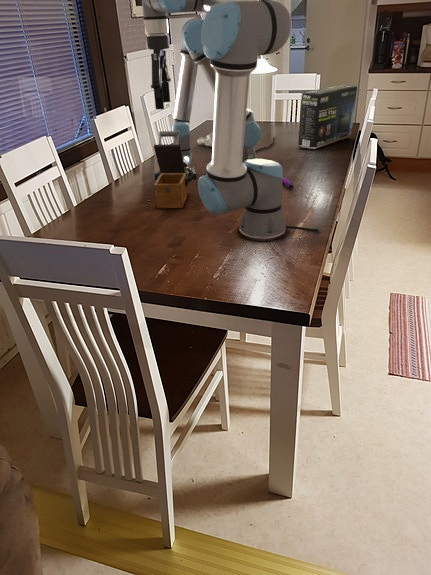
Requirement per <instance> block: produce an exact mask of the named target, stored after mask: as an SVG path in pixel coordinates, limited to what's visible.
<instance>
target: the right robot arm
mask: <svg viewBox="0 0 431 575" xmlns="http://www.w3.org/2000/svg"><path fill="white" fill-rule="evenodd" d="M141 6H142V8H141V9H142V16H143V23H142V27H143V28H144V34H145V35H147V36H145V46H146V50H149V51H150V50H153V53H151V54H150V57H151V58H150V59H151V85H150V89H153V96H154V105H155V106H154V108H155V110H165V104H164V103H171V94H170V82H171V81H172V79H171V77H170V73H169V66H168V60H167V53H166V52H167V51H166V50H169V49H170V46H171V44H170V36H169V35H168V34H169V32H170V31H169V30H170V29H169V19H168V14H177V13H198V12H202V13H206V14H205V16H204V18H203V20H204V21H203V26H202V33H201V41H202V45H203V51H204V53H205V55H206V56H207V57H208V58H209V59H210V65H211V66H212V67H213V68H214V70H215V71H216V82H215V94H214V103H213V104H214V106H213V108H214V109H213V128H212V130H213V146H212V152H211V160H210V161H209V163H207V165H206V169H205V171H206V172H205V175H204V174H203V175H201V176H200V177H199V178H198V181H197V191H198V195H199V198H200V200H201V203H202V204H203V206H204V207H205V209H206V210H207V211H208V212H209V213H210V214H213V215H219V214H227V213H228V212H232V211H233V212H234V211H236V210H241V209H244V211H243V213H242V216H241V220H240V222H239V226H238V232H239V235H240V236H241V237H242V238H244V239H247V240H250V241H254V242H271V241H277V240H279V239H281V238H283V237H285V235H286V234H287V229H290V230H299V231H305V232H316V233H318V232H319V228H311V227H310V228H309V227H304V226H296V225H288V224H287V223H286V221H285V216H284V214H283V210H282V200H283V177H284V174H283V173H284V172H283V171H284V169H283V166H282V164H280V162H277V161H275V160H270V159H265V158H257V159H248V160H246V161H245V163H244V164H243V163H242V158H243V147H244V136H245V124H246V113H247V109H248V100H249V90H250V79H251V78H250V77H251V73H253V72H254V71H255V70H256V68H257V67H258V58H259V56H265V55H266V56H268V55H272V54H274V53H276V52H278V51H279V50H281V49H282V48H283V47H284V46H285V45H286V43H287V42H288V40H289V38H290V36H291V32H292V26H293V25H292V24H293V22H292V17H291V14H290V12H289V10H288V8H287V7H286V6H285V5H284V4H283V3H281V2H280V1H279V2H278V1H276V0H141Z"/></svg>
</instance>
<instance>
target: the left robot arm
mask: <svg viewBox="0 0 431 575" xmlns="http://www.w3.org/2000/svg"><path fill="white" fill-rule="evenodd" d="M203 21H204V18H203V19H202V18H191V19H189V20H187V21H186V22H185V23H184V24H183V26H182V28H181V32H180V37H181V38H180V39H181V41H180V52H179V54H180V55H181V62H180V70H179V76H178V84H177V90H176V98H175V104H174V111H173V118H172V123H171V129H170V131H180V136H179V143H178V144H180V146H181V151H182V156H183V161H184V167H185V175H186V177H185V186H186V187H188V185H189V183H191V182H192V181H197V177H198V176H197V172H196V169H195V168H196V167H194V166H191V164H192V163H193V154H192V147H191V129H190V123H191V122H190V121H191V115H192V109H193V104H194V97H195V91H196V85H197V79H198V73H199V67H200V69H201V70H202V72H203V75H204V76H205V78H206V80H207V82H208V85H209V86H210V88H211V90H212V92H213V93H214V95H215V82H216V71H215V70H214V68H213V67H212V66H211V65H210V59H209V58H208V57H207V56H206V55H205V53H204V51H203V45H202V41H201V33H202V26H203ZM260 127H261V126H260V125H259V124H258V123H257V122H256V119H255V118H254V112H253V110H251V109H250V108H247V113H246V124H245V136H244V147H243V158H242V163H243V164H244V163H245V161H246V160H248V159H258V158H257V157H258V156H257V152H260V151H261V150H263V149H267V148H266V147H265V146H262V147H259V148H260V149H259V148H257V149H255V147H254V146H256V145H257V144H258V143H259V141H260V139H261V135H262V132H261V128H260ZM176 141H177V136H174V137H172V143H173V144H176ZM263 147H264V148H263ZM160 174H171V173H161V172H160V169H159V170H158V171H157V172H155V173H154V174H153V175H154V181H157V179H158V178H159V176H160Z"/></svg>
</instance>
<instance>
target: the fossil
mask: <svg viewBox="0 0 431 575" xmlns="http://www.w3.org/2000/svg"><path fill="white" fill-rule="evenodd" d="M196 141H197V144H198V145H199V146H206V147H213V129H212V130H211V132H210V133H209V134H207V135H206V136H205V137H204V136H201V137H199V138H197V140H196Z"/></svg>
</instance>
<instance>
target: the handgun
mask: <svg viewBox="0 0 431 575" xmlns="http://www.w3.org/2000/svg"><path fill="white" fill-rule="evenodd" d="M282 184H284V185H285V186H286V187H288V189H289V190H293V189H294V184H292V183H291V182H290V180H288V179H287V178H286V177H284V176H283V182H282Z"/></svg>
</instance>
